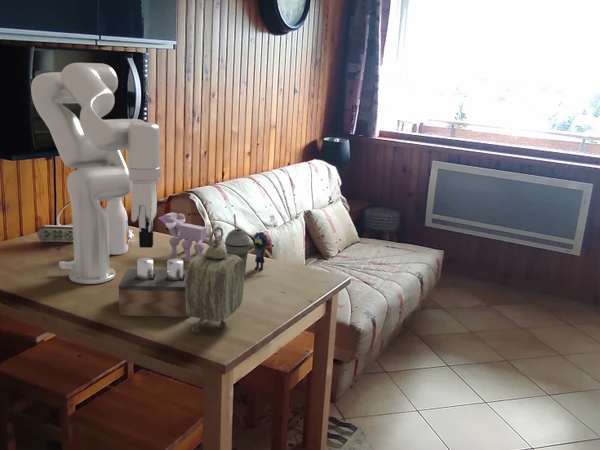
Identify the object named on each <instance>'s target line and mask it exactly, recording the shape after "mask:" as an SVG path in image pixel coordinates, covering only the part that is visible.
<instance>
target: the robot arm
mask: <svg viewBox="0 0 600 450" xmlns="http://www.w3.org/2000/svg"><path fill="white" fill-rule="evenodd" d="M118 79H119V78H118V76H117V73H116V71H115V70H114V69H113V67H111V66H110V65H108V64H105V63H97V62H73V63H69V64H68V65H66V66H64V68H62V71H60V72H57V71H53V72H51V71H50V72H44V73H41V74H38V75H37V76H35V77H34V78H33V79H32V82H31V86H30V88H31V89H30V90H31V93H30V94H31V98H32V99H31V100H32V102H33V105H34V107H35V109H36V112H37V113H38V115H39V117H40V118H41V119H42V121H43V122H44V123H45V126H47V128H48V129H49V132H50V135H51V137H52V140H53V142H54V144H55V147H56V148H57V149H56V150H57V151H58V154H59V156H60V159H61V161H62V162H63V164H64V165H65V166H66V167H67V168H71V169H75V170H73V171H72V172H70V173H69V175H68V176H67V179H66V187H67V192H68V196H69V201H70V206H71V218H72V239H73V240H72V242H73V243H72V244H73V260H71V261H64V260H63V261H61V260H60V261H59V263H58V267H59V269H60V271H70V272H69V273H68V278H69V280H70V281H71V282H74V283H77V284H80V285H81V284H83V285H94V284H95V285H96V284H101V283H106V282H109V281H111V280H113V279H114V278H116V270H115V269H114V268H112V267H110V265H111V264H110V254H109V224H108V215H107V213H106V211H105V208H103V206H102V205H101V204H100V203H101V202H103V201H108V200H110V199H117V198H122V199H123V198H125V197H127V196H128V195H130V194H131V211H130V212H131V214H130V215H131V217H130V220H131V222H132V223H135V222H136V221H137V220H138V229H139V231H138V246H139V248H143V249H144V248H146V249H147V248H153V246H154V230H153V227H154V223H153V222H154V219H155V217H156V216H157V209H158V208H157V207H158V206H157V205H158V204H157V203H158V200H157V199H158V197H157V196H158V195H157V194H158V193H157V192H158V191H157V187H158V186H157V183H158V182H161V180H162V179H161V178H162V175H161V173H162V170H161V168H162V167H161V158H162V157H161V129H160V126H159V125H158V124H156V123H154V122H146V121H145V120H142V119H140V118H139V119H138V118H115V119H114V118H113V119H103V117H104V116H106V115H108V114H109V113H110V112H111V111H112V110H113V108H114V105H115V102H116V101H115V99H116V98H115V95H114V94H115V92H116V90H118V86H119V85H118V84H119V80H118ZM63 104H78V105H79V107H80V108H81V109H80V113H79V117H77V115H76V114H75V113H74V112H72V111H71V110H70V109H69V108H67V107H66V106H65V105H63ZM121 151H127V153H128V166H127V163H126V162H125V158H124V157H123V154H122V152H121Z"/></svg>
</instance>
